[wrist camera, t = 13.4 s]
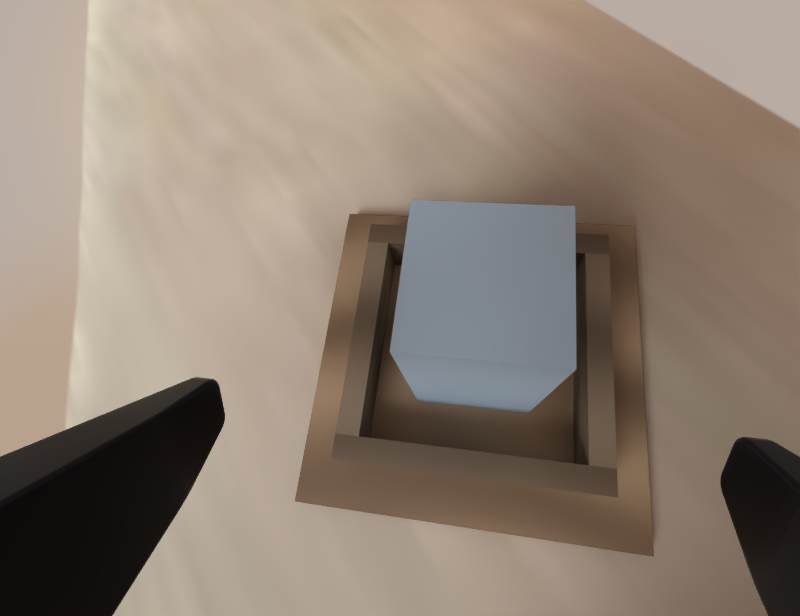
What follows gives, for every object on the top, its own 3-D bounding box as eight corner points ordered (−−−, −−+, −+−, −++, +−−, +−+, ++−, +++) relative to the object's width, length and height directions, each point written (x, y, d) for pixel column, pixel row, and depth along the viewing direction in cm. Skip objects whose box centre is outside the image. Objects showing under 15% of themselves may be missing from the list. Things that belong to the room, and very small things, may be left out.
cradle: (645, 553, 18) (682, 568, 15) (300, 500, 21) (274, 504, 18) (628, 233, 23) (653, 198, 20) (352, 221, 26) (338, 188, 23)
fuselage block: (527, 413, 20) (576, 369, 12) (417, 401, 21) (389, 351, 12) (530, 309, 22) (575, 206, 13) (429, 302, 22) (410, 200, 14)
